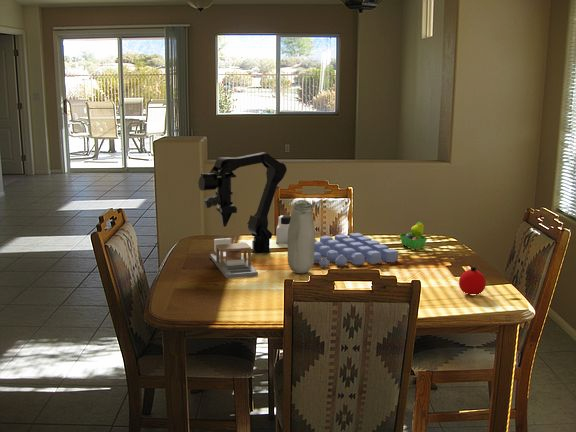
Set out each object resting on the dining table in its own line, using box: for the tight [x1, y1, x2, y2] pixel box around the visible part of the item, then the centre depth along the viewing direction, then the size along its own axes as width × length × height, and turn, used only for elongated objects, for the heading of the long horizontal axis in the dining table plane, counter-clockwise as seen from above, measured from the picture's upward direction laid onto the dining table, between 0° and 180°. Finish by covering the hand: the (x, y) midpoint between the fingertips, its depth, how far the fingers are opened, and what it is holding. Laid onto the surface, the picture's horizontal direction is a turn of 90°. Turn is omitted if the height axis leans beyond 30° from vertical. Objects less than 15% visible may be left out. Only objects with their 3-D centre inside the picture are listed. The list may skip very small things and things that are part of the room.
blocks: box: [313, 232, 399, 269], centre depth 280 cm, size 35×34×5 cm
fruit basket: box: [399, 221, 428, 249], centre depth 293 cm, size 11×9×11 cm
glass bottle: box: [287, 199, 316, 274], centre depth 251 cm, size 10×10×28 cm
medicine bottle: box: [275, 214, 291, 245], centre depth 300 cm, size 7×7×12 cm
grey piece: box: [209, 242, 259, 279], centre depth 260 cm, size 12×30×8 cm, turn 18°
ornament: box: [458, 266, 487, 295], centre depth 228 cm, size 9×9×10 cm
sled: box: [213, 237, 245, 266], centre depth 266 cm, size 7×24×5 cm, turn 18°
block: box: [226, 251, 242, 260], centre depth 259 cm, size 5×5×4 cm
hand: (224, 226), depth 272 cm, fingers closed
